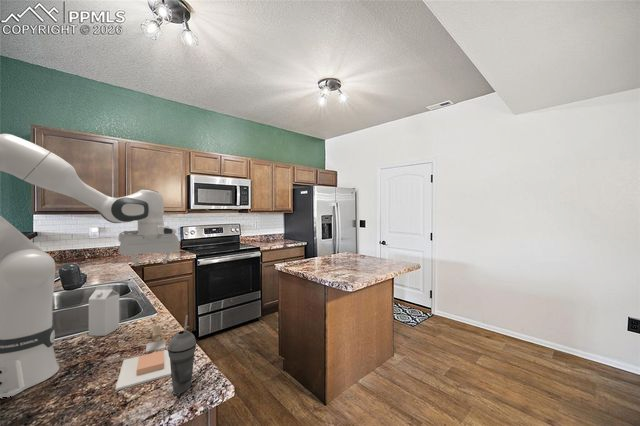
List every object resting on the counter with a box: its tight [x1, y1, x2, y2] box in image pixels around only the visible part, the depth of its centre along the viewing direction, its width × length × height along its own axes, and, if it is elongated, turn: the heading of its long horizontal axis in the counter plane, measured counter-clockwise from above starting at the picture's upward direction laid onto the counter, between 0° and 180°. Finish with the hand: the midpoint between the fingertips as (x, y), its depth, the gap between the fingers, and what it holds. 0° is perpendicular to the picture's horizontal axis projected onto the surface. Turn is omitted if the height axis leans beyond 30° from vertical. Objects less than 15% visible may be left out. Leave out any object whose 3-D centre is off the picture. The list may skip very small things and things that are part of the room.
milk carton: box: [88, 286, 120, 337], centre depth 109 cm, size 7×7×19 cm
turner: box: [145, 325, 166, 354], centre depth 101 cm, size 6×17×3 cm, turn 31°
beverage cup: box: [167, 315, 197, 393], centre depth 73 cm, size 7×7×20 cm
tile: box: [137, 349, 165, 375], centre depth 83 cm, size 7×2×9 cm
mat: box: [114, 349, 171, 391], centre depth 83 cm, size 14×17×1 cm
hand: (151, 264), depth 104 cm, fingers open, 8 cm apart
